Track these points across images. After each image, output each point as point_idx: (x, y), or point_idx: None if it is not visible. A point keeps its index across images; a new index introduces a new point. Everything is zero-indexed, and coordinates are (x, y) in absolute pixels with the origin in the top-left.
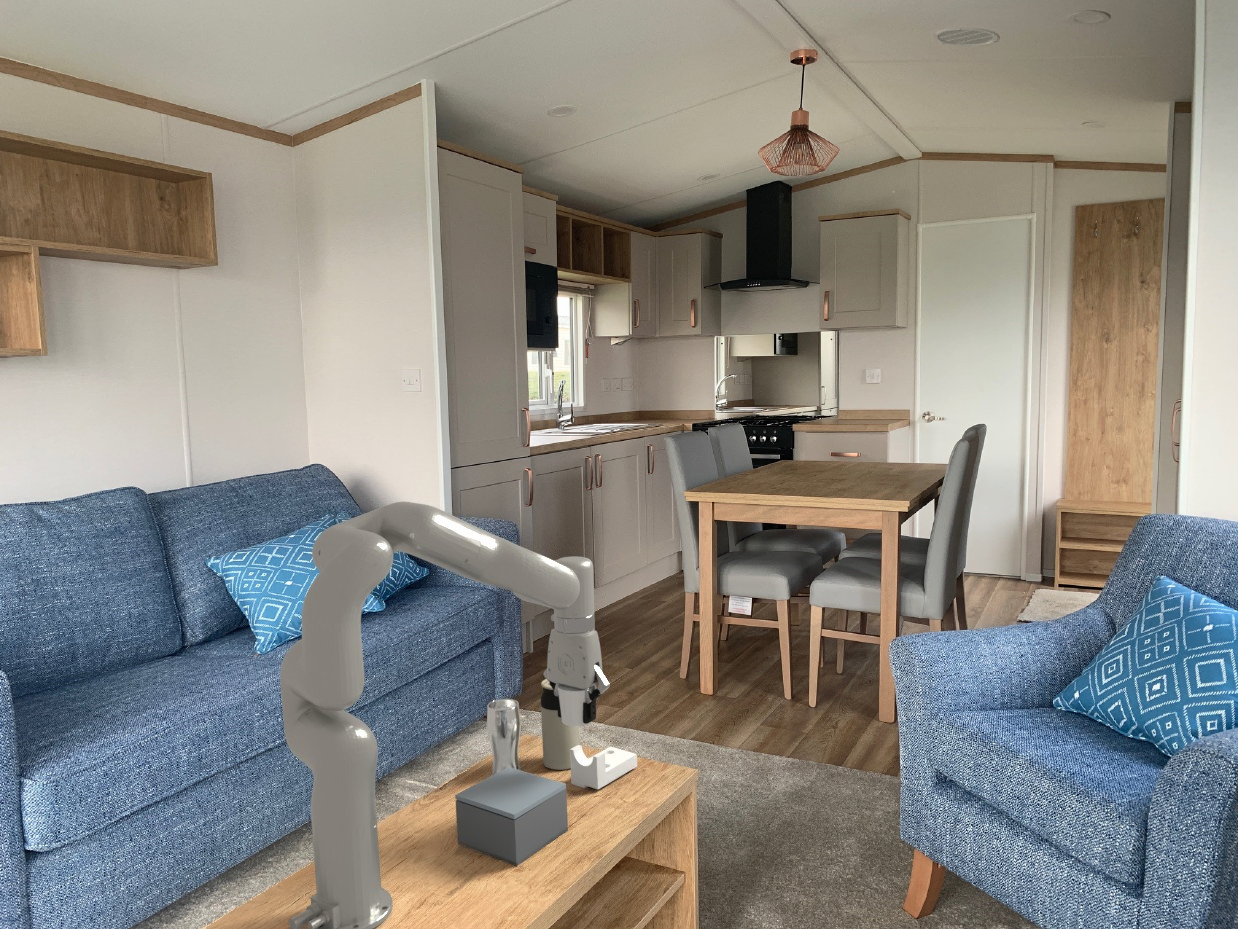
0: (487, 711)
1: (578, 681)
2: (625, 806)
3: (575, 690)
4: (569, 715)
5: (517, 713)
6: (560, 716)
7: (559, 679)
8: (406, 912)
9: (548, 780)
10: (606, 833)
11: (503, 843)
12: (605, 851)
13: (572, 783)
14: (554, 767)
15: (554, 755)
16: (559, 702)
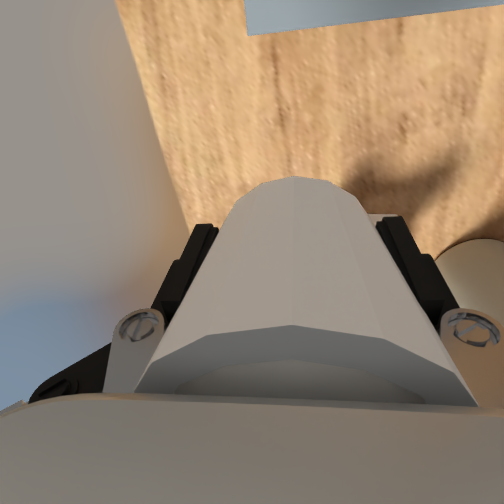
0: None
1: (52, 485)
2: (234, 200)
3: (179, 363)
4: (271, 204)
5: None
6: (383, 221)
7: (442, 476)
8: None
9: (322, 11)
10: (181, 84)
11: None
12: (120, 11)
13: (393, 215)
14: (472, 243)
15: (483, 260)
16: (409, 273)
